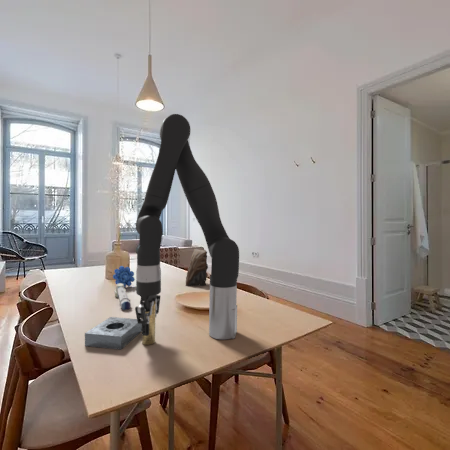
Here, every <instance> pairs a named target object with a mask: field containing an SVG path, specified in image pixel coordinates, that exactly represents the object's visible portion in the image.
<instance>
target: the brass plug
mask: <svg viewBox="0 0 450 450" xmlns="http://www.w3.org/2000/svg"><path fill="white" fill-rule="evenodd" d="M145 313H149V312H145ZM146 319H147V316H146ZM155 343H156V318H155V304H153V307H152V315H151V316H150V321H149V335H148V336H144V335H142V334H141V344H142V345H145V346H149V345H151V346H152V345H153V344H155Z"/></svg>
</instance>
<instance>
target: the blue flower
mask: <svg viewBox="0 0 450 450" xmlns="http://www.w3.org/2000/svg"><path fill="white" fill-rule="evenodd" d="M113 273H114V274H112V279H114V280H115V281H114V282H115V283H114V284H116V285H117V284H119V283H122V284H123V285H124V288H126V287H130V286H132V283H133V282H135V281H136V279H135V277H134V275H135V272H134V271H132V270H131V268H130V267H129V266H126V267H125V266H123V265H120V266H119V267H118V268H116V269H114V271H113Z"/></svg>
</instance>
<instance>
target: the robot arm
mask: <svg viewBox="0 0 450 450" xmlns="http://www.w3.org/2000/svg"><path fill="white" fill-rule="evenodd" d="M190 136H191V125H190V122H189V121H188V119H187V118H186V117H185V116H184V115H181V114H180V113H179V114H178V113H173V114H169V115H168V116H166V117H165V118H164V119H163V121H162V123H161V126H160V130H159V137H160V147H159V152H158V154H157V159H156V162H155V165H154V168H153V170H152V172H151V175H150V179H149V182H148V185H147V189H146V192H145V196H144V201H143V204H142V206H141V208H140V210H139V213H138V214H137V218H136V221H135V229H136V232H137V233H138V234H139V243H138V248H137V251H136V271H135V273H136V274H135V275H136V276H135V277H136V279H135V281H136V283H135V284H136V287H135V289H136V290H135V291H136V293H135V294H136V295H137V296H139V297H140V301H139V306H135V309H134V311H135V315H136V317H135V318H136V319H137V322H138V324H142V331H141V336H142V335H144V336H148V335H149V321H150V316H151V315H152V307H153V304H155V319H156V318H157V315H159V312H160V303H161V295H160V293H161V292H162V271H161V270H162V269H161V245H162V239H163V223H162V221H161V219H160V218H161V216H162V212H163V210H164V209H166V206H167V204H168V202H169V201H168V200H169V197H170V193H171V190H172V186H173V182H174V178H175V174H177V177H178V180H179V182H180V183H179V184H180V186H181V188H182V190H183V193H184V196H185V198H186V200H187V202H188V204H189V207H190V209H191V212H192V213H193V215H194V217H195V219H196V221H197V223H198V224H199V226H200V228H201V231H202V233H203V236H204V239H205V242H206V243H205V244H206V245H207V250H208V253H209V256H210V257H211V272H210V276H209V303H208V304H209V307H208V308H209V309H208V310H209V311H208V313H209V314H208V315H209V316H208V317H209V318H208V319H209V320H208V323H209V324H208V334H209V336H210V337H211V338H213V339H215V340H230V339H235V338H236V335H237V331H238V304H237V298H238V297H237V293H238V292H237V291H238V288H237V285H238V277H239V268H240V267H239V266H240V248H239V246H238V244H237V243H236V241H234V240H233V239H231V237H229V235H228V233H227V231H226V228H225V227H224V224H223V223H222V220H221V217H220V216H221V215H220V211H219V206H218V201H217V198H216V195H215V192H214V190H213V187H212V185H211V184H212V183H211V182H210V180H209V178H208V175H206V173H205V172H204V170H203V169H202V168H201V166H200V165H199V163H198V162H197V161H196V159H195V156H194V155H193V152H192V149H191V146H190V142H189V139H190ZM145 312H149V313H145ZM146 316H147V319H146Z"/></svg>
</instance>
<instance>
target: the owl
mask: <svg viewBox="0 0 450 450" xmlns="http://www.w3.org/2000/svg"><path fill="white" fill-rule="evenodd" d="M189 260H190V261H189V265H188V269H187V273H186V276H185V287H187V286H188V287H191V286H192V287H195V286H196V287H198V286H199V287H205V286H207V283H206V282H207V278H208V269H209V266H208V263H207V261H208V251H207V250H206V249H203V250H202V249H198V248H194V249H193V252H192V255H191V258H190V259H189Z"/></svg>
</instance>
